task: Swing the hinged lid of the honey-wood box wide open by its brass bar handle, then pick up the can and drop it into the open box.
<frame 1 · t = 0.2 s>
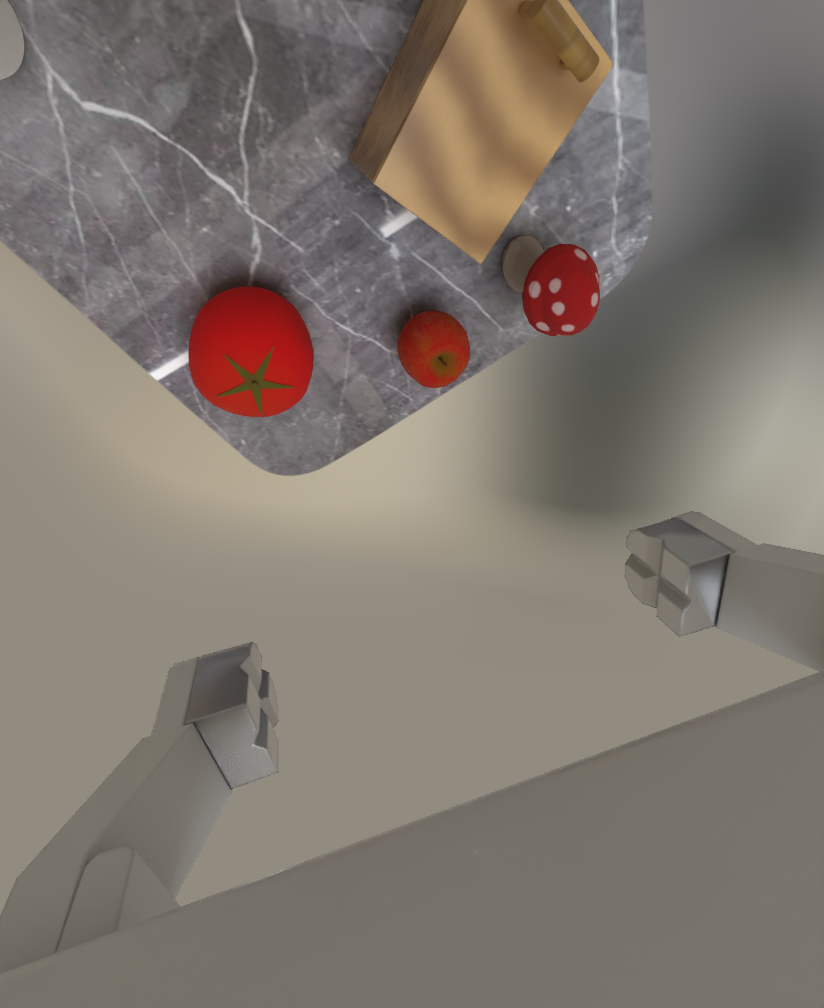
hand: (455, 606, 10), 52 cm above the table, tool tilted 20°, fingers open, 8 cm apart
decorative mushroom: (518, 261, 60), on the table
lid: (500, 127, 38), point 12 cm above the table, hinge at 0.0°
box: (445, 113, 47), on the table
tomato: (249, 331, 56), on the table
apple: (417, 326, 62), on the table
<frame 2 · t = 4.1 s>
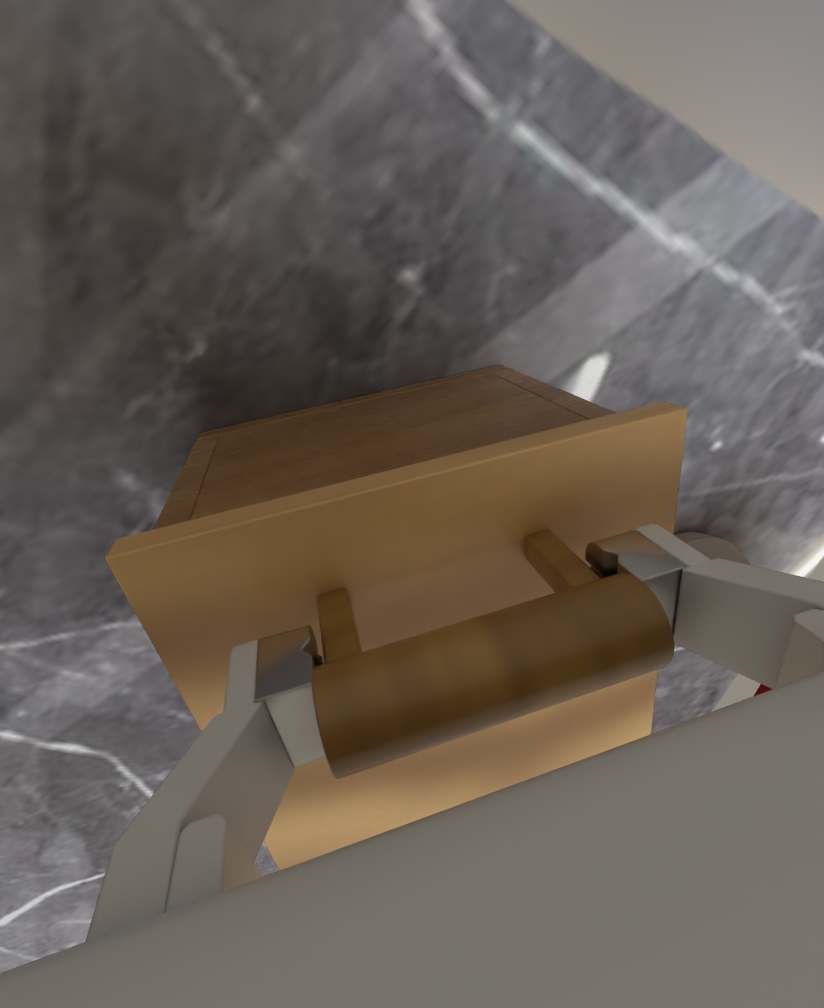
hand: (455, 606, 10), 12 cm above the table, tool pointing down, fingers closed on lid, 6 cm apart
decorative mushroom: (678, 564, 29), on the table
lid: (488, 794, 13), point 12 cm above the table, hinge at -0.1°, touching gripper
box: (393, 561, 24), on the table
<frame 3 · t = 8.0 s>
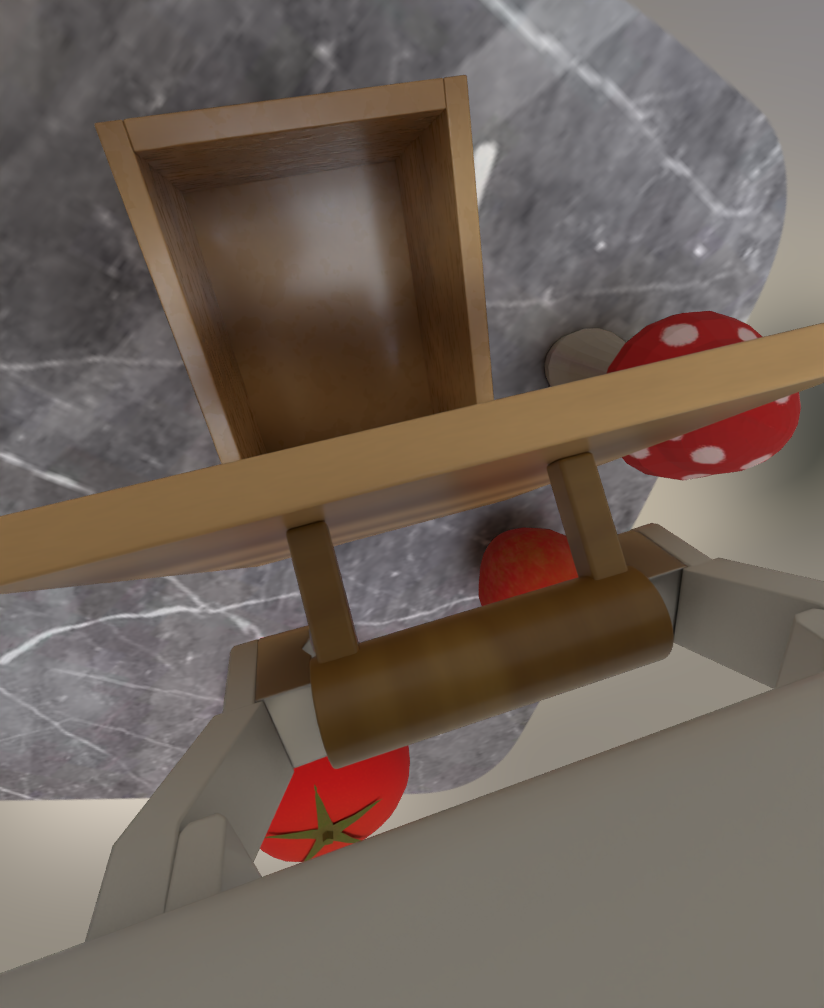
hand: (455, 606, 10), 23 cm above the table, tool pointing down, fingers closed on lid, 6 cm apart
decorative mushroom: (580, 367, 34), on the table
lid: (419, 567, 15), point 19 cm above the table, hinge at 58.1°, touching gripper
box: (326, 326, 29), on the table
tomato: (316, 696, 41), on the table
apple: (502, 544, 39), on the table
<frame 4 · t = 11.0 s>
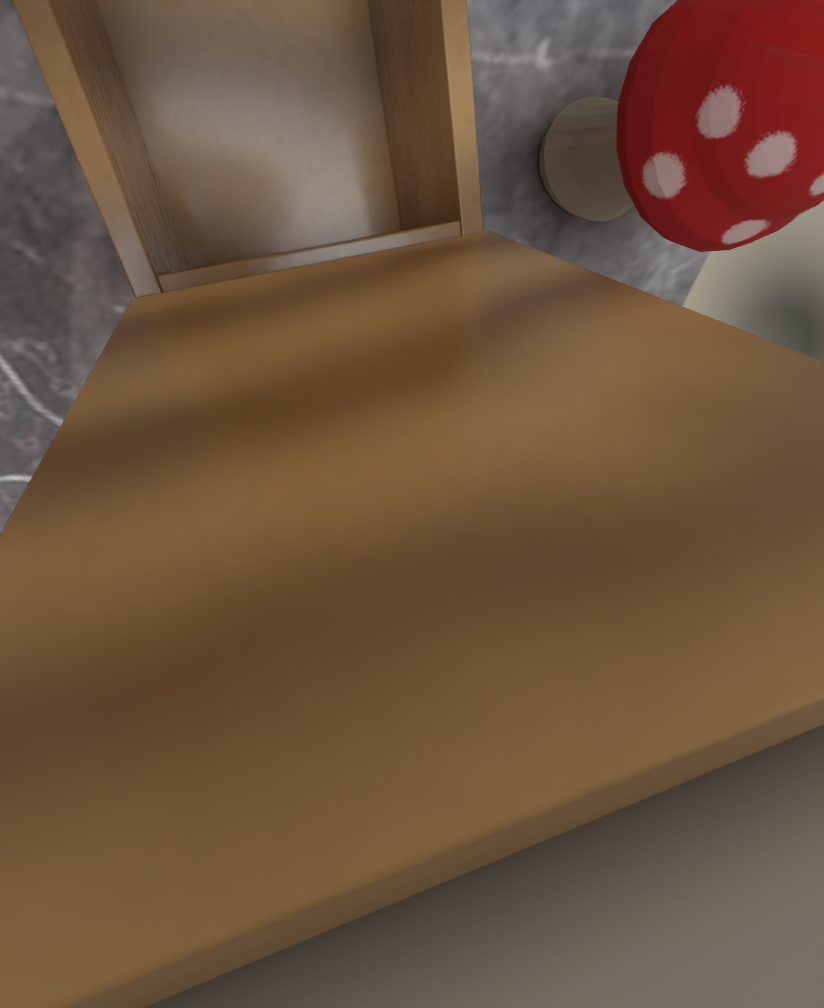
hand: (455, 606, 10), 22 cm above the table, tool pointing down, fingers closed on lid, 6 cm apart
decorative mushroom: (582, 166, 28), on the table
lid: (396, 444, 12), point 19 cm above the table, hinge at 100.3°, touching gripper
box: (253, 64, 22), on the table
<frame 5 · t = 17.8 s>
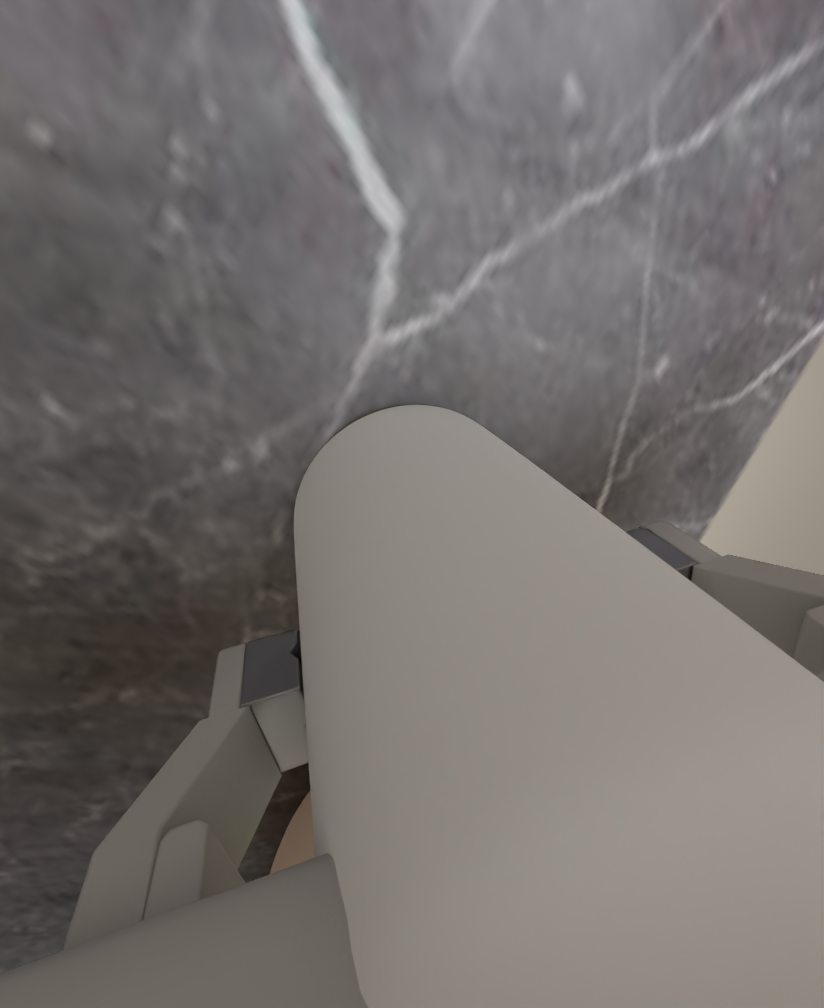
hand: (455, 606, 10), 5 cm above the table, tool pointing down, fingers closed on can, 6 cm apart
hamburger: (364, 795, 19), on the table
can: (404, 506, 14), on the table, touching gripper
when the fingers open (14 cm above the table, at t = 29.4 s): can drops 8 cm, resting on box.
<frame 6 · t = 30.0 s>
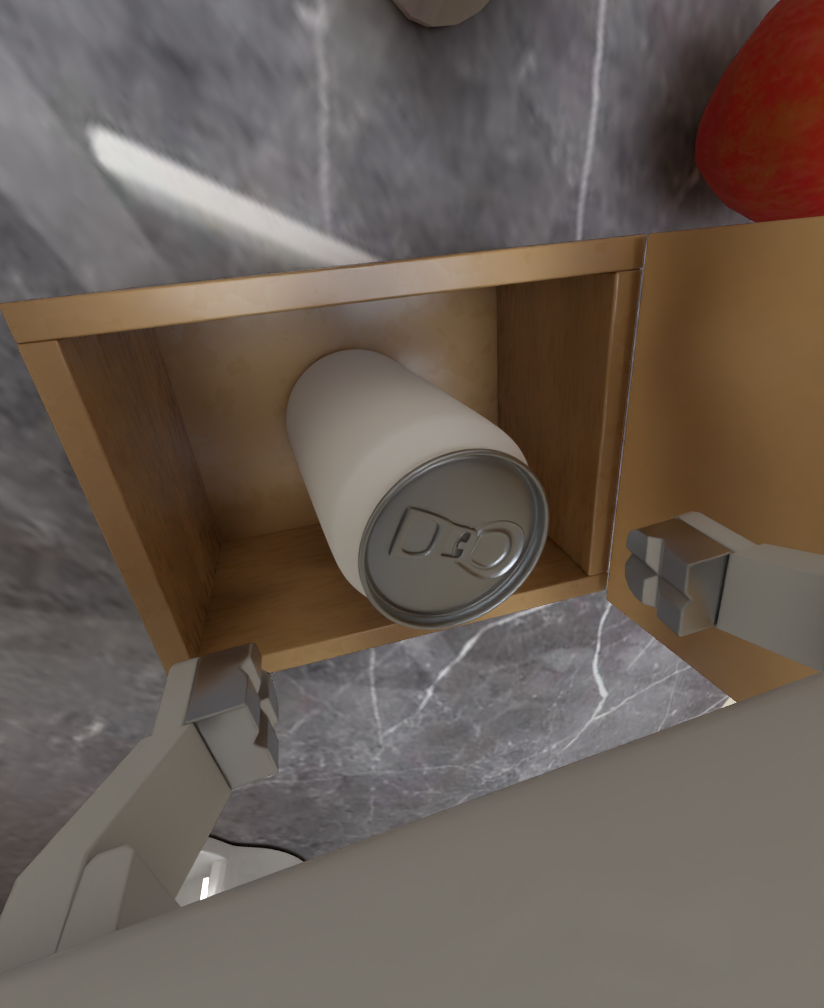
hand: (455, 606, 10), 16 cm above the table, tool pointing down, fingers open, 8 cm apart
box: (349, 409, 24), on the table
can: (352, 415, 23), point 1 cm above the table, touching box
apple: (711, 140, 23), on the table
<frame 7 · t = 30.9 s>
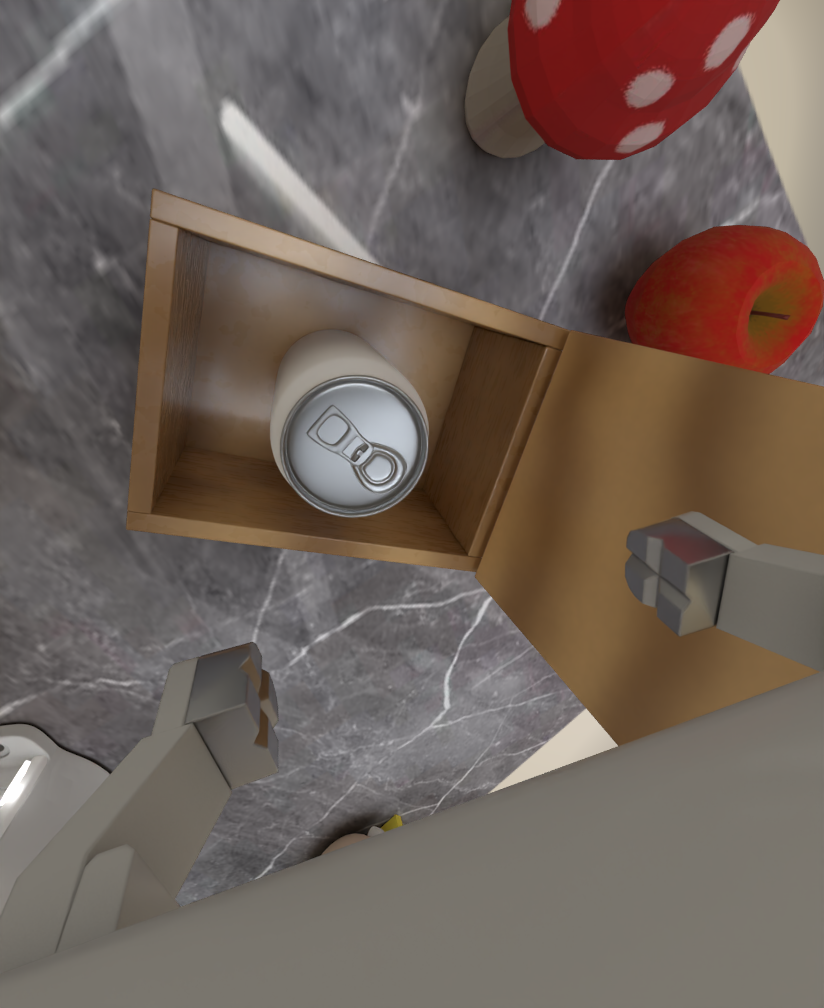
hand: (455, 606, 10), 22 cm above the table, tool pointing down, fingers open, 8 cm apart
hamburger: (348, 844, 50), on the table
decorative mushroom: (511, 94, 26), on the table
lid: (708, 568, 17), point 19 cm above the table, hinge at 98.0°
box: (331, 381, 29), on the table
can: (332, 384, 29), point 1 cm above the table, touching box
apple: (639, 303, 32), on the table
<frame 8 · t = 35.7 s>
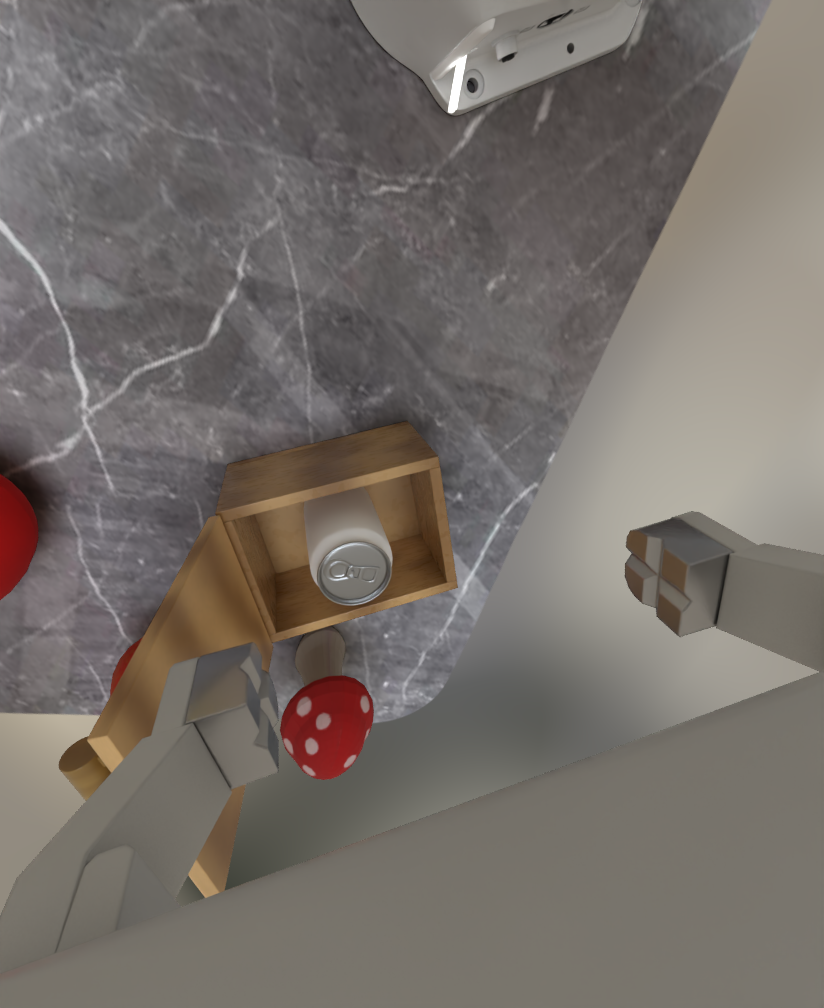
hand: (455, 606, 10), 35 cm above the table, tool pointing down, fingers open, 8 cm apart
decorative mushroom: (319, 645, 54), on the table
lid: (181, 683, 29), point 19 cm above the table, hinge at 98.0°
box: (336, 502, 47), on the table
can: (337, 505, 46), point 1 cm above the table, touching box
apple: (177, 633, 49), on the table
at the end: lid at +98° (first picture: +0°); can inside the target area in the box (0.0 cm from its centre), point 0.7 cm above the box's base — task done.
